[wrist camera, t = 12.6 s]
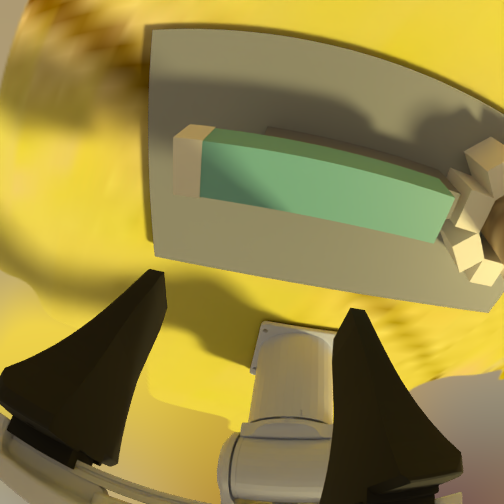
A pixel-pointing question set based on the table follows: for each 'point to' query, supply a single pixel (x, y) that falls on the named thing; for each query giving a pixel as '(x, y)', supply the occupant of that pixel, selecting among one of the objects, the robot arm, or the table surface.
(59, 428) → the robot arm
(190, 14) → the table surface
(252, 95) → the board
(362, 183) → the bar
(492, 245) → the peg
